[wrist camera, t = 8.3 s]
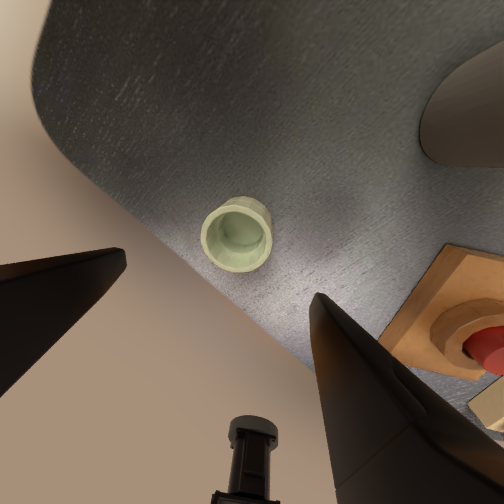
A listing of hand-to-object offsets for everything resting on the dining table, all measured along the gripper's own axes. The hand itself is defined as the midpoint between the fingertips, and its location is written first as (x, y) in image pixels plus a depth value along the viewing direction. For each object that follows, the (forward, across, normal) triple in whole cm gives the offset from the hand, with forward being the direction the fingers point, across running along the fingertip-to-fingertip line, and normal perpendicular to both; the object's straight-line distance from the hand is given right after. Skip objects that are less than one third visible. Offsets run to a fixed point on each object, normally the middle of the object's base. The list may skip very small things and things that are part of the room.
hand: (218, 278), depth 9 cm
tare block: (+8, -21, +4) cm, 23 cm away
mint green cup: (+8, 0, 0) cm, 8 cm away
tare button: (+5, -21, +4) cm, 22 cm away
